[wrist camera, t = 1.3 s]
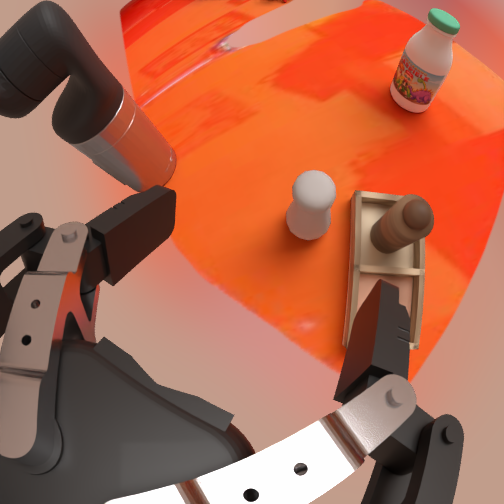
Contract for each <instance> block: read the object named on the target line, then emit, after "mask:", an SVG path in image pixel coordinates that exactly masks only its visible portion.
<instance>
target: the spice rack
mask: <svg viewBox="0 0 504 504" xmlns="http://www.w3.org/2000/svg"><path fill="white" fill-rule="evenodd" d="M402 197H403V196H399V195H391V194H383V193H375V192H366V191H357V190H355V192H354V194H353V196H352V197H351V233H350V259H349V277H348V291H347V303H346V314H345V324H344V333H343V342H342V345H343V346H344V347H345V348H346V349H347V347H348V342H349V338H350V334H351V329H352V325H353V321H354V318H355V316H356V314H357V311H358V310H359V308H360V306H361V305H362V303H363V302H364V300H365V299H366V297H367V296H368V294H369V293H370V291H371V290H372V288H373V287H374V285H375V284H376V282H377V281H378V280H379V279H382V280H384V281H386V282H388V283H391V284H393V285H395V286H397V287H399V304H401V305H404V306H406V309H407V312H408V314H409V317H410V342H409V344H410V349H418V347H419V340H420V332H421V322H422V312H423V299H424V280H425V237H424V238H422V239H420V240H418V241H416V242H414V243H412V244H410V245H408V246H406V247H404V248H402V249H400V250H398V251H395V252H393V253H390V254H385V253H382V252H380V251H378V250H377V249H376V248H375V247H374V246H373V244H372V241H371V237H370V232H371V228H372V226H373V225H374V224H375V223H376V222H377V221H378V220H379V219H380V218H381V217H382V216H383V215H384V214H385V213H386V212H387V211H388V210H389V209H390V208H391V207H392V206H393V205H394V204H395V203H396V202H397V201H398V200H399V199H400V198H402Z"/></svg>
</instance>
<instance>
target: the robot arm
mask: <svg viewBox="0 0 504 504" xmlns="http://www.w3.org/2000/svg"><path fill="white" fill-rule="evenodd" d="M69 75H70V78H69V81H68V83H67V85H66V87H65V88H64V90H63V92H62V94H61V95H60V97H59V99H58V101H57V103H56V106H55V108H54V111H53V115H52V126H53V129H54V131H55V133H56V134H57V135H58V136H60V137H61V138H62V139H64V140H65V141H66V142H68V143H69V144H71V145H72V146H73V147H75V148H76V149H77V150H79V151H80V152H82V153H83V154H85V155H86V156H87V157H89V158H90V159H92V161H93V163H94V164H95V165H97V166H98V167H100V168H101V169H103V170H104V171H105V172H107V173H108V174H110V175H111V176H113V177H114V178H115V179H117V180H118V181H120V182H121V183H123V184H124V185H128V186H129V187H131V188H132V189H134V190H136V191H137V192H141V193H137V194H134V195H131V196H129V197H127V198H126V199H124V200H122V201H121V203H118V204H116V205H114V206H113V208H110V209H108V210H106V211H105V212H103V213H102V214H100V215H99V216H97V217H96V218H94V219H93V220H91V221H90V222H88V223H87V224H85V225H84V224H83V223H80V222H69V223H65V224H63V225H61V226H59V227H58V228H56V229H53V228H49V227H45V226H44V222H43V218H42V216H41V215H40V214H38V213H28V214H25V215H23V216H21V217H19V218H18V219H16V220H15V221H14V222H12V223H11V224H9V225H8V226H7V227H5V228H4V229H3V230H1V231H0V275H1V273H2V272H3V270H4V269H5V268H7V267H8V266H9V265H10V264H11V263H12V262H14V261H15V260H16V259H17V258H18V257H19V256H21V258H22V261H23V263H24V266H25V268H24V269H23V270H22V271H21V272H20V273H19V274H18V275H17V276H15V277H14V278H13V279H12V280H11V281H10V282H9V283H8V284H7V285H6V286H5V287H2V286H1V283H0V338H1V336H2V335H3V334H4V333H5V335H4V339H3V343H2V347H1V352H0V504H307V503H309V502H311V501H312V500H314V499H315V498H317V497H318V496H320V495H322V494H323V493H325V492H326V491H327V490H329V489H331V488H332V487H333V486H335V485H336V484H338V483H339V482H340V481H342V480H343V479H345V477H347V476H349V475H350V474H351V473H352V472H354V471H355V470H356V469H358V468H359V467H360V466H361V465H362V464H363V463H364V458H365V457H366V456H367V455H369V456H370V457H371V458H373V459H374V460H376V463H375V466H374V469H373V472H372V475H371V478H370V481H369V484H368V486H367V489H366V492H365V494H364V497H363V500H362V502H361V504H452V503H453V499H454V495H455V490H456V486H457V481H458V476H459V470H460V464H461V457H462V450H463V441H464V433H463V429H462V426H461V424H460V423H459V421H458V420H457V419H456V418H455V417H453V416H452V415H448V414H445V415H442V416H440V417H438V418H436V419H434V418H433V417H431V416H430V415H429V414H427V413H426V412H425V411H423V410H422V409H421V408H420V407H418V406H417V405H416V394H415V391H414V389H413V387H412V385H411V384H410V383H409V382H408V368H409V352H410V344H409V342H410V317H409V314H408V312H407V309H406V306H404V305H401V304H399V287H397V286H395V285H393V284H391V283H388V282H386V281H384V280H382V279H379V280H378V281H377V282H376V284H375V285H374V287H373V288H372V290H371V291H370V293H369V294H368V296H367V297H366V299H365V300H364V302H363V303H362V305H361V306H360V308H359V310H358V311H357V314H356V316H355V318H354V321H353V325H352V329H351V334H350V338H349V342H348V347H347V351H346V355H345V359H344V363H343V367H342V370H341V374H340V378H339V381H338V385H337V389H336V392H335V395H334V399H333V400H335V401H338V402H341V403H343V404H342V407H341V408H339V409H338V410H336V411H335V412H333V413H330V414H328V415H326V416H325V417H323V418H321V419H320V420H318V421H316V422H315V423H313V424H311V425H310V426H308V427H306V428H305V429H303V430H301V431H299V432H298V433H296V434H294V435H293V436H290V437H288V438H286V439H285V440H283V441H281V442H279V443H277V444H275V445H273V446H271V447H269V448H267V449H265V450H263V451H261V452H259V453H257V454H256V453H255V451H254V449H253V447H252V446H251V444H250V442H249V441H248V440H247V438H246V437H245V436H244V435H243V434H242V433H241V432H240V431H239V429H238V428H236V427H235V426H234V425H233V424H231V423H230V422H231V420H232V418H233V416H234V415H233V414H231V413H229V412H227V411H225V410H223V409H221V408H219V407H217V406H215V405H213V404H211V403H209V402H207V401H205V400H203V399H201V398H200V397H197V396H194V395H190V394H187V393H183V392H180V391H176V390H173V389H170V388H167V387H164V386H161V385H159V384H157V383H156V382H154V381H153V380H152V378H150V376H148V374H147V373H146V372H145V371H144V370H143V369H142V368H141V367H140V365H139V364H138V363H137V362H136V361H135V360H134V359H133V358H132V356H131V355H129V354H128V353H126V352H125V351H123V350H122V349H121V348H119V347H118V346H116V345H115V344H113V343H112V342H111V341H109V340H108V339H107V338H105V337H103V338H102V339H101V341H99V343H96V338H95V320H96V312H97V304H98V298H99V291H100V286H99V283H100V282H101V281H102V280H105V281H106V282H108V283H109V284H110V285H112V286H114V285H115V284H116V283H117V282H118V281H120V280H121V279H122V278H123V277H124V276H125V275H126V274H127V273H128V272H130V271H131V270H132V269H133V268H134V267H135V266H136V265H137V264H139V263H140V262H141V261H142V260H143V259H144V258H145V257H147V256H148V255H149V254H150V253H151V252H152V251H154V250H155V249H156V248H157V247H158V246H159V245H161V244H162V243H163V242H164V241H165V240H166V239H168V238H169V236H170V235H171V233H172V231H173V229H174V225H175V209H176V192H175V191H174V190H171V189H169V188H166V187H164V186H163V185H164V184H165V183H166V182H167V181H168V180H169V179H170V178H171V176H172V174H173V172H174V170H175V166H176V155H175V152H174V150H173V149H172V147H171V146H170V145H169V144H168V142H167V141H166V140H165V139H164V137H163V136H162V135H161V133H160V132H159V131H158V130H157V128H156V127H155V126H154V125H153V123H152V122H151V121H150V120H149V118H148V117H147V116H146V115H145V113H144V112H143V111H142V110H141V109H140V107H139V106H138V105H137V104H136V102H135V101H134V100H133V99H132V97H131V96H130V95H129V94H128V93H127V91H126V90H125V89H124V88H123V86H122V85H121V84H120V83H119V82H118V80H117V79H116V78H115V77H114V76H113V75H112V73H111V72H110V71H109V70H108V69H107V68H106V66H105V65H104V64H103V63H102V61H101V60H100V59H99V58H98V56H97V55H96V54H95V52H94V51H93V49H92V48H91V46H90V45H89V43H88V42H87V41H86V39H85V38H84V36H83V35H82V33H81V32H80V30H79V29H78V27H77V26H76V24H75V23H74V22H73V20H72V19H71V18H70V16H69V15H68V14H67V13H66V12H65V11H64V10H63V9H62V8H61V7H60V6H59V5H57V4H56V3H54V2H52V1H42V2H40V3H38V4H37V5H35V6H34V7H33V8H31V9H30V10H29V11H28V12H27V13H26V14H24V15H23V16H22V17H21V18H20V19H19V20H18V21H17V22H16V23H15V24H14V25H13V26H12V27H11V28H10V29H9V30H8V31H7V32H6V33H5V34H4V35H3V36H2V37H1V38H0V115H2V116H5V117H9V118H21V117H24V116H26V115H27V114H29V113H30V112H31V111H32V110H34V109H35V108H36V107H37V106H38V105H39V104H40V103H41V102H42V101H43V100H44V99H45V98H46V97H47V96H48V95H49V94H50V93H51V92H52V91H53V90H54V89H55V88H56V87H57V86H58V85H59V84H60V83H61V82H63V81H64V80H65V79H66V78H67V77H68V76H69Z"/></svg>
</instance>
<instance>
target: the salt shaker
mask: <svg viewBox="0 0 504 504" xmlns="http://www.w3.org/2000/svg"><path fill="white" fill-rule="evenodd" d="M292 196H293V199H294V200H293V202H292V203H291V204H290V206H289V208H288V210H287V212H286V222H287V225H288V227H289V229H290V231H291V232H292V233H293V234H294V235H296V236H297V237H298V238H301V239H305V240H313V239H317V238H319V237H321V236H322V235H323V234H325V233H326V232H327V230H328V228H329V226H330V224H331V213H330V208H331V206H332V204H333V202H334V200H335V198H336V187H335V184H334V182H333V181H332V179H331V178H330V177H329V176H328V175H327V174H325V173H324V172H321V171H317V170H311V171H305V172H304V173H302V174H301V175H299V176H298V177H297V179H296V181H295V183H294V185H293V187H292Z"/></svg>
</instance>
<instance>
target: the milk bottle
mask: <svg viewBox="0 0 504 504" xmlns="http://www.w3.org/2000/svg"><path fill="white" fill-rule="evenodd" d="M459 29H460V24H459V23H458V21H457V20H456V19H455V18H454V17H452V16H451V15H450V14H448V13H447V12H445V11H442V10H440V9H435V8H433V9H431V10H430V12H429V14H428V18H427V24H426V25H425V27H424V28H423V29H421V30H420V31H419V32H417V33H416V34H414V35H413V36H412V37H411V38H410V40H409V41H408V43H407V45H406V47H405V49H404V52H403V55H402V57H401V60H400V62H399V65H398V68H397V70H396V73H395V76H394V78H393V81H392V83H391V87H390V91H391V95H392V97H393V99H394V100H395V102H396V103H397V104H398V105H400V106H401V107H402V108H404V109H406V110H408V111H410V112H414V113H420V112H423V111H425V110H426V109H427V108H428V107H429V105H430V104H431V102H432V101H433V99H434V97H435V96H436V94H437V92H438V91H439V89H440V87H441V86H442V84H443V82H444V80H445V78H446V77H447V75H448V73H449V71H450V68H451V65H452V59H453V56H452V40H453V38H454V37H456V34H457V33H458V31H459Z"/></svg>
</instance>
